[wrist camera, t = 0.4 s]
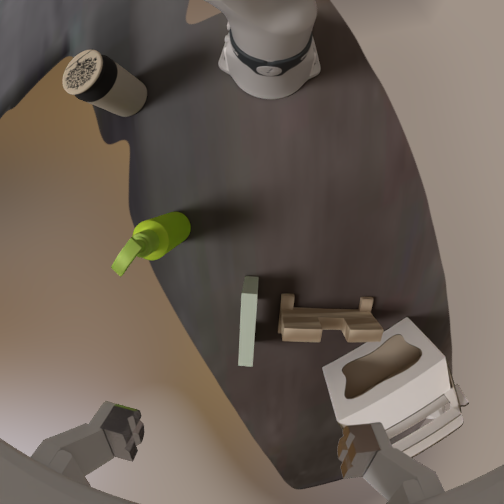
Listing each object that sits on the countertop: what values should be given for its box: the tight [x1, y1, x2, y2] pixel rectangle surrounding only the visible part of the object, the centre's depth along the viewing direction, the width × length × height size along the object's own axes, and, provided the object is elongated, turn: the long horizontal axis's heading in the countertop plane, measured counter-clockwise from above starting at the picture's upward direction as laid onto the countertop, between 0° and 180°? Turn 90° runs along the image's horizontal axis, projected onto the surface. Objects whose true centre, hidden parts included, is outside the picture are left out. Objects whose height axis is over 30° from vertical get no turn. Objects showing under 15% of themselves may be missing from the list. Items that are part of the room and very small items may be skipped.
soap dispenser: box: [111, 212, 191, 276], centre depth 43 cm, size 6×7×20 cm
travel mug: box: [63, 50, 147, 117], centre depth 39 cm, size 8×8×18 cm
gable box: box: [322, 317, 469, 458], centre depth 45 cm, size 22×13×28 cm, turn 122°
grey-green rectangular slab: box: [238, 276, 259, 367], centre depth 52 cm, size 14×2×9 cm, turn 177°
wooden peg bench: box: [278, 293, 384, 342], centre depth 51 cm, size 8×18×9 cm, turn 87°
